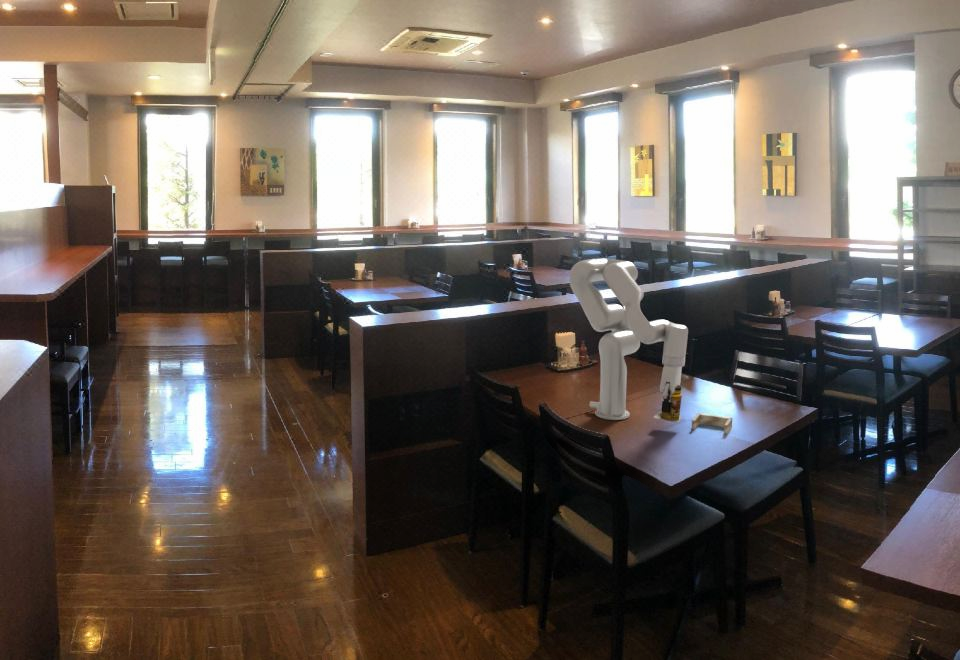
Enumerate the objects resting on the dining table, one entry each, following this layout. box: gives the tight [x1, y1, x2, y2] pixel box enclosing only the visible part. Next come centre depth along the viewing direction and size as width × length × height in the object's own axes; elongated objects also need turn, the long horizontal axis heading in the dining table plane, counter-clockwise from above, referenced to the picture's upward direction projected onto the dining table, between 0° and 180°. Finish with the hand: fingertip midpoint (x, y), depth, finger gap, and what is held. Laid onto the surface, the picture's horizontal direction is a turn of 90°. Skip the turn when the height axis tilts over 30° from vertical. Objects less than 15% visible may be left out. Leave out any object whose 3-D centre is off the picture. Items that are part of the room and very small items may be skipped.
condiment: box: [653, 384, 683, 424], centre depth 266 cm, size 7×8×12 cm
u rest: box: [691, 412, 733, 436], centre depth 268 cm, size 12×9×4 cm
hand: (668, 409), depth 266 cm, fingers closed on condiment, 6 cm apart
